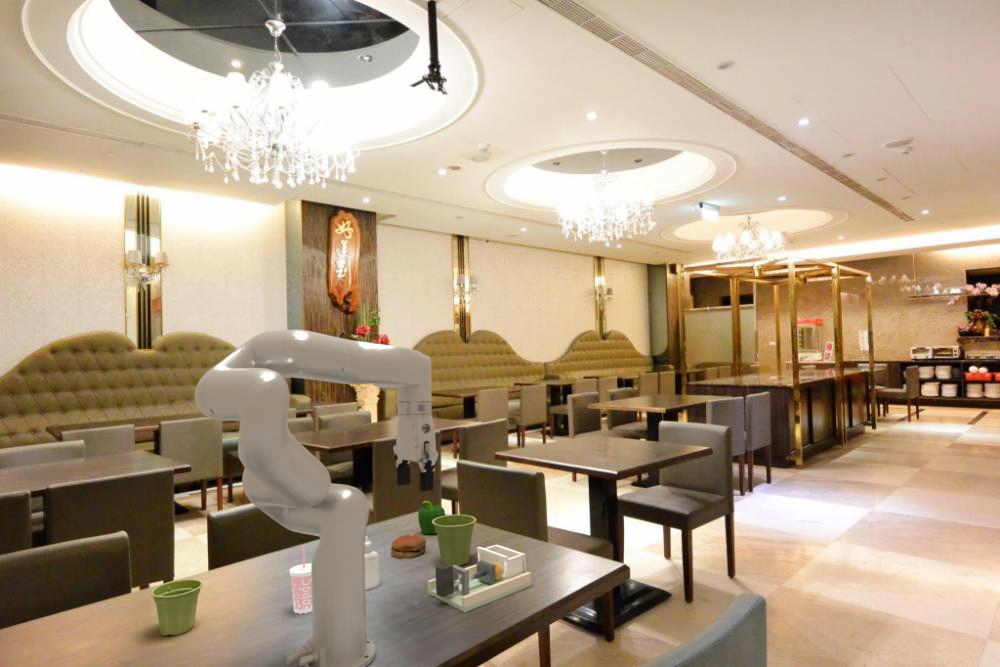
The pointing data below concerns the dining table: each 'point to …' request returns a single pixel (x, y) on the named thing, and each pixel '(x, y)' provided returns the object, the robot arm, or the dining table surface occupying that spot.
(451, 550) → the plant pot
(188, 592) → the plant pot
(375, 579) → the eye dropper bottle
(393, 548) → the burger
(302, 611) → the beverage cup
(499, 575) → the ball
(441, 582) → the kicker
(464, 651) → the dining table surface
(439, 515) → the bell pepper
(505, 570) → the pitch
